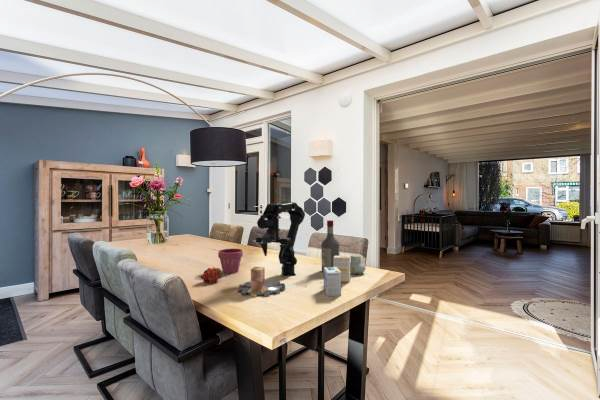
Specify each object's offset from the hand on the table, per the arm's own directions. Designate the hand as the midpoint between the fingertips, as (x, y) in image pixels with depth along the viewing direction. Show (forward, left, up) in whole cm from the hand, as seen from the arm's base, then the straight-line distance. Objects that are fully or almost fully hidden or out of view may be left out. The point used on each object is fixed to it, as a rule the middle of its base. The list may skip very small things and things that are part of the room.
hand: (273, 256), depth 164 cm
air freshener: (-48, +7, -13) cm, 50 cm away
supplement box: (-32, +17, -13) cm, 39 cm away
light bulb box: (-18, +30, -13) cm, 37 cm away
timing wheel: (+10, +10, -13) cm, 19 cm away
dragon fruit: (+30, -13, -13) cm, 35 cm away
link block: (+13, +14, -12) cm, 22 cm away
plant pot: (+16, -30, -13) cm, 37 cm away
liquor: (-37, -3, -13) cm, 40 cm away
